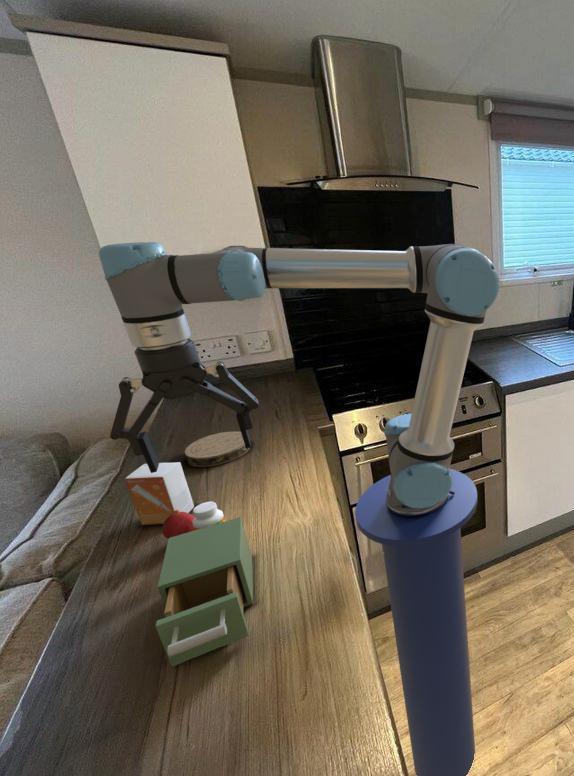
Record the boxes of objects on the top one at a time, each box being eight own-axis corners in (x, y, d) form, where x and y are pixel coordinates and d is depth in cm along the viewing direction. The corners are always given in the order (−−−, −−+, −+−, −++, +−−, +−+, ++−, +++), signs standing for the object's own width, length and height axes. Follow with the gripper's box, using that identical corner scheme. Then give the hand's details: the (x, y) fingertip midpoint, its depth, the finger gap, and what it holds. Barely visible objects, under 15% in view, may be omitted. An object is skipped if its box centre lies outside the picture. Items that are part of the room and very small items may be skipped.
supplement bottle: (219, 552, 94) (208, 515, 91) (194, 552, 94) (182, 515, 91) (235, 535, 99) (225, 499, 96) (212, 535, 99) (201, 499, 96)
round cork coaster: (198, 473, 122) (195, 464, 121) (179, 454, 131) (176, 446, 130) (259, 450, 134) (257, 441, 133) (238, 434, 143) (236, 426, 142)
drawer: (248, 659, 71) (236, 619, 68) (167, 694, 66) (149, 652, 63) (248, 585, 85) (237, 549, 82) (180, 609, 79) (167, 572, 76)
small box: (141, 526, 102) (123, 478, 97) (160, 508, 107) (144, 463, 103) (178, 523, 102) (162, 476, 98) (195, 506, 108) (181, 461, 104)
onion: (166, 553, 94) (155, 522, 91) (168, 537, 98) (157, 508, 95) (200, 542, 97) (190, 512, 94) (200, 527, 101) (191, 498, 98)
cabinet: (253, 603, 82) (240, 559, 78) (175, 633, 76) (157, 587, 72) (252, 557, 93) (241, 516, 89) (183, 580, 87) (168, 537, 83)
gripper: (46, 366, 61) (105, 491, 69) (255, 335, 73) (284, 444, 81) (63, 351, 67) (115, 468, 75) (253, 325, 79) (281, 428, 87)
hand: (203, 456), depth 78 cm, fingers open, 13 cm apart
